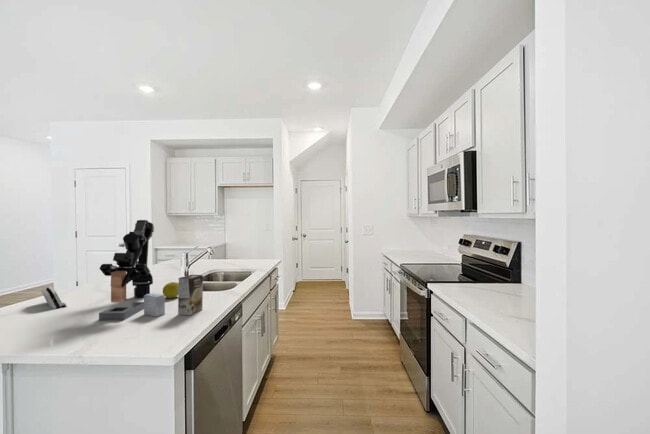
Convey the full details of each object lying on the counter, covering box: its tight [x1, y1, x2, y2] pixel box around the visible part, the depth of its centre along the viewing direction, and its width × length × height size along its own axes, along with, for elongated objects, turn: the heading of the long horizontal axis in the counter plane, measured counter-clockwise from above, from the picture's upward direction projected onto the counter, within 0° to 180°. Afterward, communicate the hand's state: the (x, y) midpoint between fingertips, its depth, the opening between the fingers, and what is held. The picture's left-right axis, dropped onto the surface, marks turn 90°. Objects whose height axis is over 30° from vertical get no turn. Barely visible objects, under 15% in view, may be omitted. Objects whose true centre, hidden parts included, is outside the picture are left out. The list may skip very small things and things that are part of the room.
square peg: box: [110, 271, 127, 303], centre depth 135 cm, size 4×4×12 cm
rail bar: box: [98, 301, 144, 321], centre depth 138 cm, size 16×10×3 cm, turn 3°
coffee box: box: [177, 274, 204, 316], centre depth 142 cm, size 9×6×16 cm
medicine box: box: [143, 292, 166, 318], centre depth 138 cm, size 8×4×9 cm, turn 65°
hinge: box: [41, 286, 68, 310], centre depth 151 cm, size 17×5×10 cm, turn 49°
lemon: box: [162, 281, 179, 299], centre depth 166 cm, size 11×8×8 cm
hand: (116, 286), depth 134 cm, fingers closed on square peg, 4 cm apart
